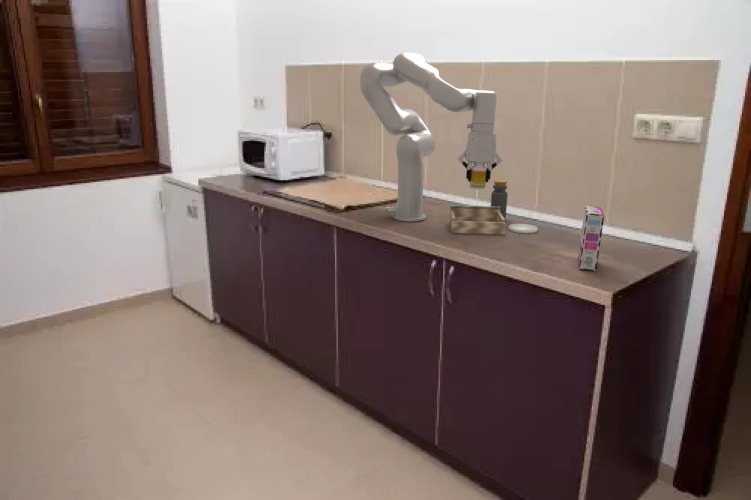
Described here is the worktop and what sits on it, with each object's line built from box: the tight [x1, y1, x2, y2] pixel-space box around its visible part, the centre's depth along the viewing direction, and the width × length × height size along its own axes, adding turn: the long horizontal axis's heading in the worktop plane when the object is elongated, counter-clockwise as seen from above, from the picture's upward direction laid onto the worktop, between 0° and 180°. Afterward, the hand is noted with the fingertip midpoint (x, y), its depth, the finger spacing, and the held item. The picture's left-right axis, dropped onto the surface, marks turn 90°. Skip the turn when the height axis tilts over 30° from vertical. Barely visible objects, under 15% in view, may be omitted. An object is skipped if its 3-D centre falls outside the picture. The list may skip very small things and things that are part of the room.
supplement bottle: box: [469, 162, 487, 190], centre depth 201 cm, size 5×5×10 cm
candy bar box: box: [577, 205, 605, 272], centre depth 167 cm, size 11×5×16 cm, turn 163°
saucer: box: [508, 223, 539, 235], centre depth 206 cm, size 10×10×1 cm
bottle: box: [490, 179, 508, 220], centre depth 217 cm, size 6×6×15 cm
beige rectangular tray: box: [448, 204, 506, 235], centre depth 206 cm, size 18×13×7 cm
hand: (477, 180), depth 202 cm, fingers closed on supplement bottle, 5 cm apart
